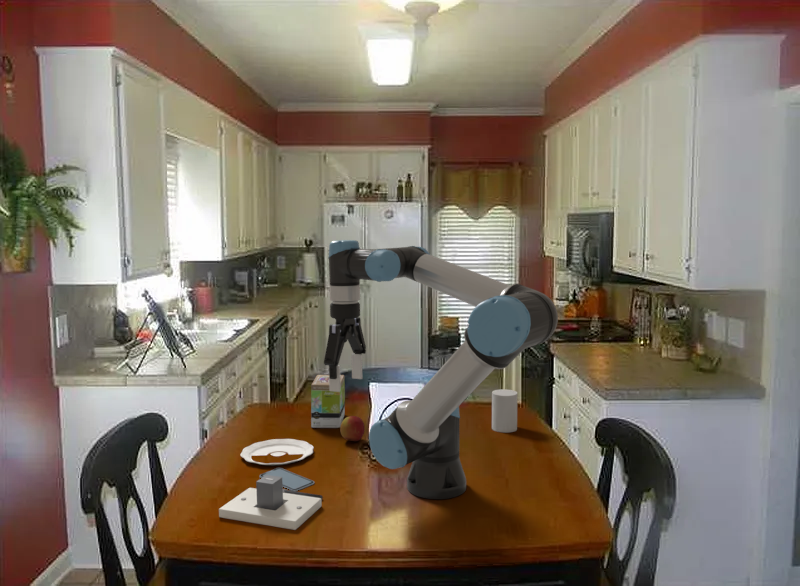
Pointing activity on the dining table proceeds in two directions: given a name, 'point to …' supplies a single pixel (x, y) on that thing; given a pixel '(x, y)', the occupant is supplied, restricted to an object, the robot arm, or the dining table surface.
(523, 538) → the dining table surface
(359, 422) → the apple
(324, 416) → the tea box
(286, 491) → the cable
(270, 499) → the block
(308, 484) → the smartphone
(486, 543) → the dining table surface
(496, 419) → the white cylinder
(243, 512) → the outlet plate
